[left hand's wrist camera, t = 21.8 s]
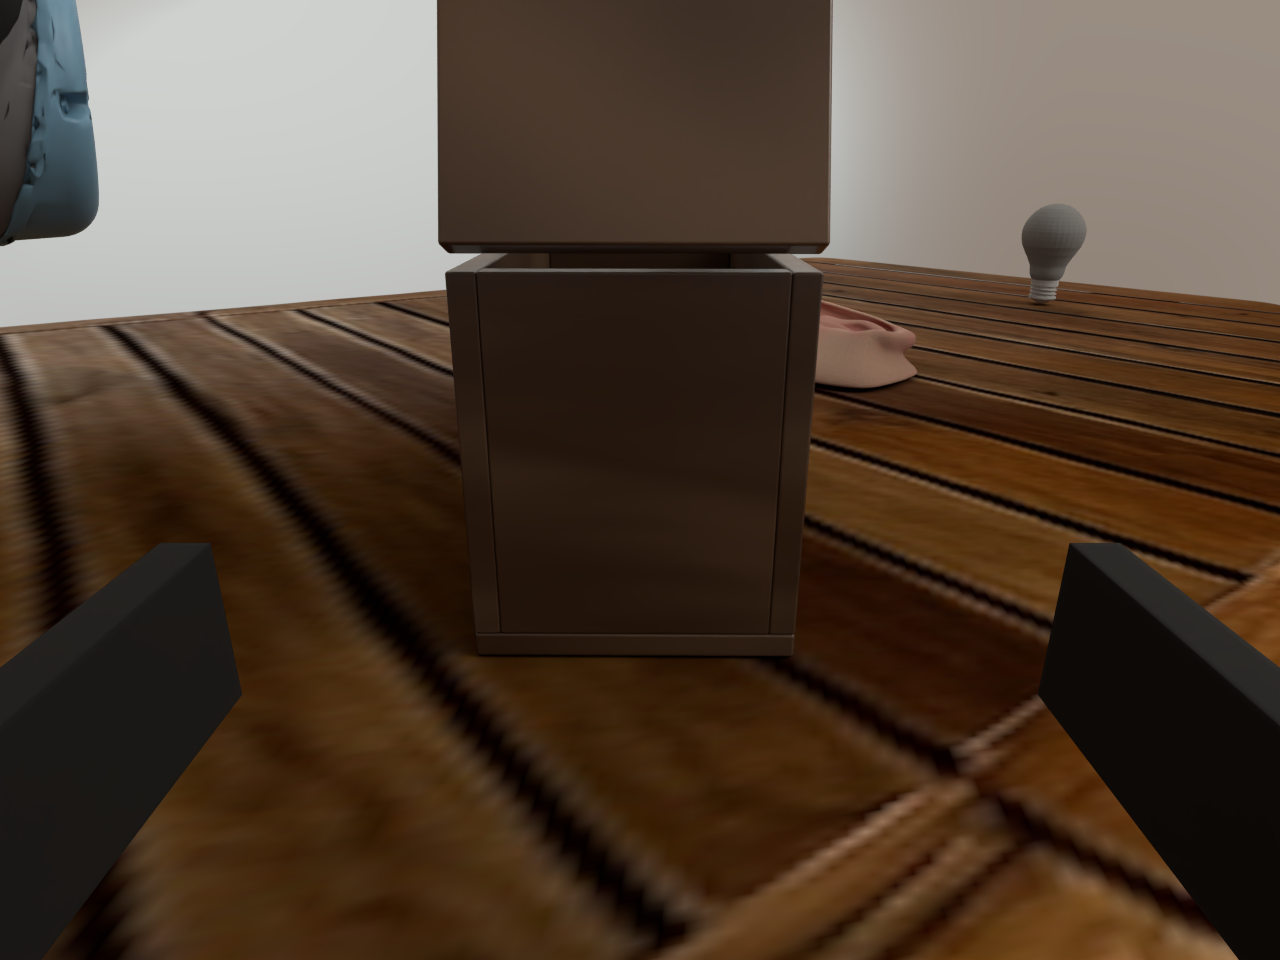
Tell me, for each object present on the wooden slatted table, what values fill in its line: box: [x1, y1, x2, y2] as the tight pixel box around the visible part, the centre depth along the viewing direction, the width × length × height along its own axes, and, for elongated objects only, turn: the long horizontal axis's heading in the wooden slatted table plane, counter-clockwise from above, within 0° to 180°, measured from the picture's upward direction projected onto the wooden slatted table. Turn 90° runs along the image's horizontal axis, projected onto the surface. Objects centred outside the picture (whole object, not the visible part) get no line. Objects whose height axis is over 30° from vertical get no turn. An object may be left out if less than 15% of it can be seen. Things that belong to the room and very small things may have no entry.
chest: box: [445, 253, 823, 656], centre depth 30 cm, size 17×9×11 cm, turn 179°
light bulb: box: [1022, 204, 1086, 303], centre depth 85 cm, size 6×6×10 cm
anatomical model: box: [815, 300, 917, 388], centre depth 58 cm, size 13×4×12 cm
